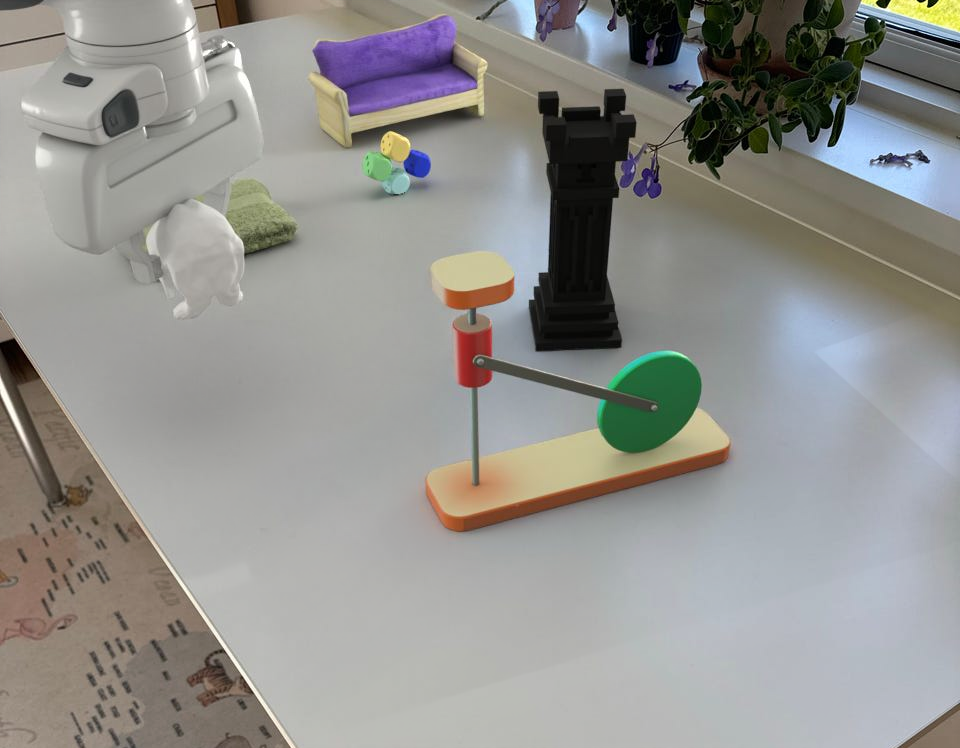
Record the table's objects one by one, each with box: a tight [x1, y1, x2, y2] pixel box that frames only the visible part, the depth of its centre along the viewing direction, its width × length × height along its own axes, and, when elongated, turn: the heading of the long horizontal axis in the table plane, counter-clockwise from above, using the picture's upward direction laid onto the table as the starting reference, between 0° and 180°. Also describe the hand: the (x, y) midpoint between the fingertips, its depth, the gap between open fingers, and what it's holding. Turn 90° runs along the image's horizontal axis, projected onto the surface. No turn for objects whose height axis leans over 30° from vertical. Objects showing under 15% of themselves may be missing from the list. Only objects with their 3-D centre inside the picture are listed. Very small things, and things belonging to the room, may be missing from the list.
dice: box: [361, 130, 432, 195], centre depth 118 cm, size 8×3×6 cm, turn 120°
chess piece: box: [528, 88, 638, 352], centre depth 92 cm, size 8×8×20 cm
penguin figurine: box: [146, 199, 246, 321], centre depth 83 cm, size 6×8×12 cm
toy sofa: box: [308, 13, 488, 149], centre depth 130 cm, size 21×9×10 cm, turn 119°
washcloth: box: [140, 177, 299, 255], centre depth 112 cm, size 13×18×3 cm
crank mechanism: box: [425, 250, 731, 532], centre depth 77 cm, size 25×7×19 cm, turn 111°
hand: (183, 258), depth 83 cm, fingers closed on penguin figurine, 6 cm apart
